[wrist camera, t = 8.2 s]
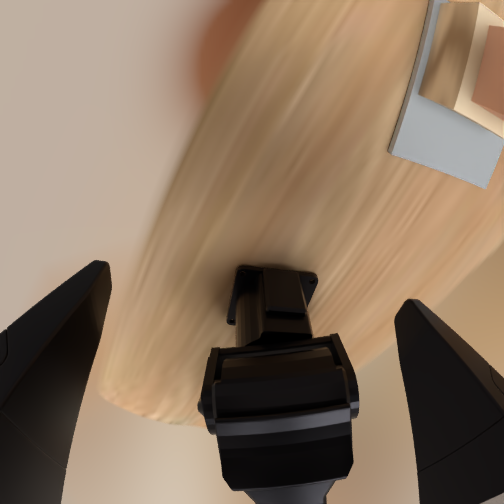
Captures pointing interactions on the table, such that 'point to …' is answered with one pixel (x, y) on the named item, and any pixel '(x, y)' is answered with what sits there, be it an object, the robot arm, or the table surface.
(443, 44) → the base brick
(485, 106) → the top brick
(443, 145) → the build plate
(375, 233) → the table surface
